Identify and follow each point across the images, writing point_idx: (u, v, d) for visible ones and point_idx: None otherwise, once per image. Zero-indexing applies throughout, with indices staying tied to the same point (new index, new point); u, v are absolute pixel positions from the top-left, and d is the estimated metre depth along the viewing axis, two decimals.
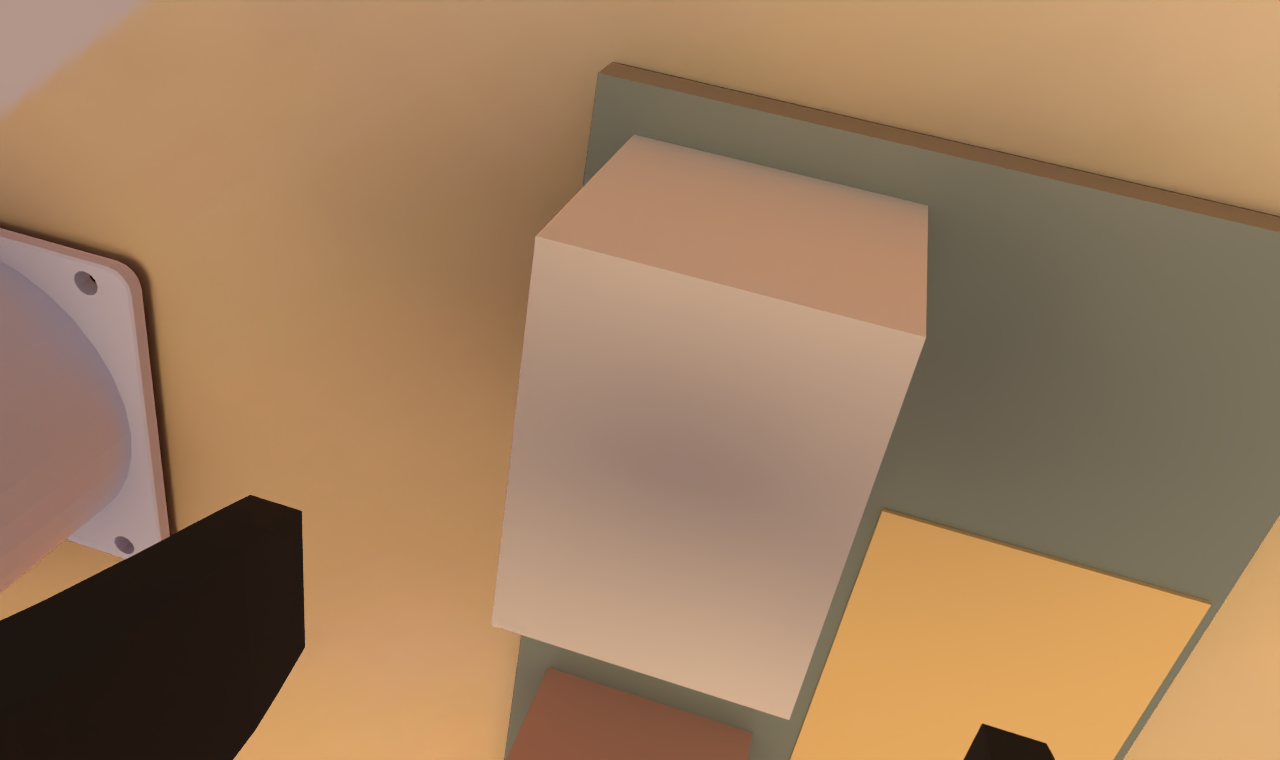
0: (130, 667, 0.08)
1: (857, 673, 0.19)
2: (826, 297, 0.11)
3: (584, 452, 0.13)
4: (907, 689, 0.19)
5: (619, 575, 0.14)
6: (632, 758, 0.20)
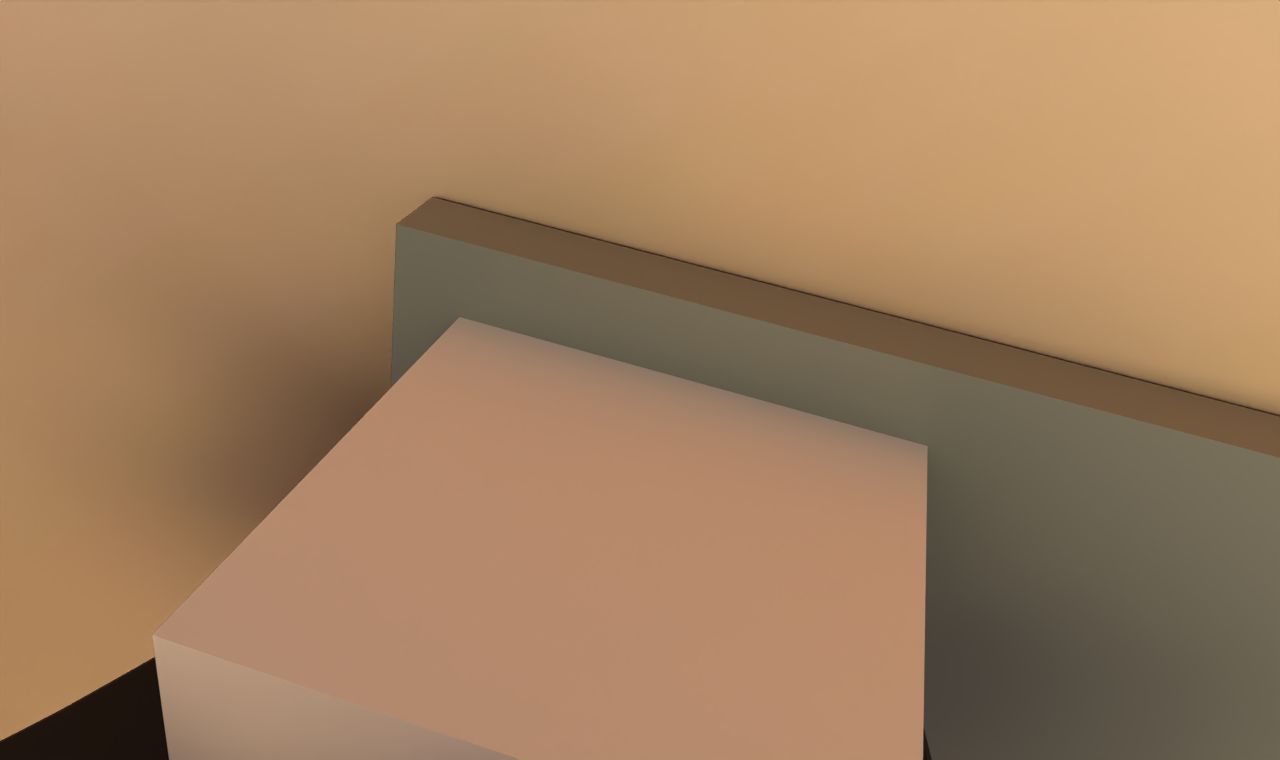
0: None
1: None
2: None
3: None
4: None
5: None
6: None
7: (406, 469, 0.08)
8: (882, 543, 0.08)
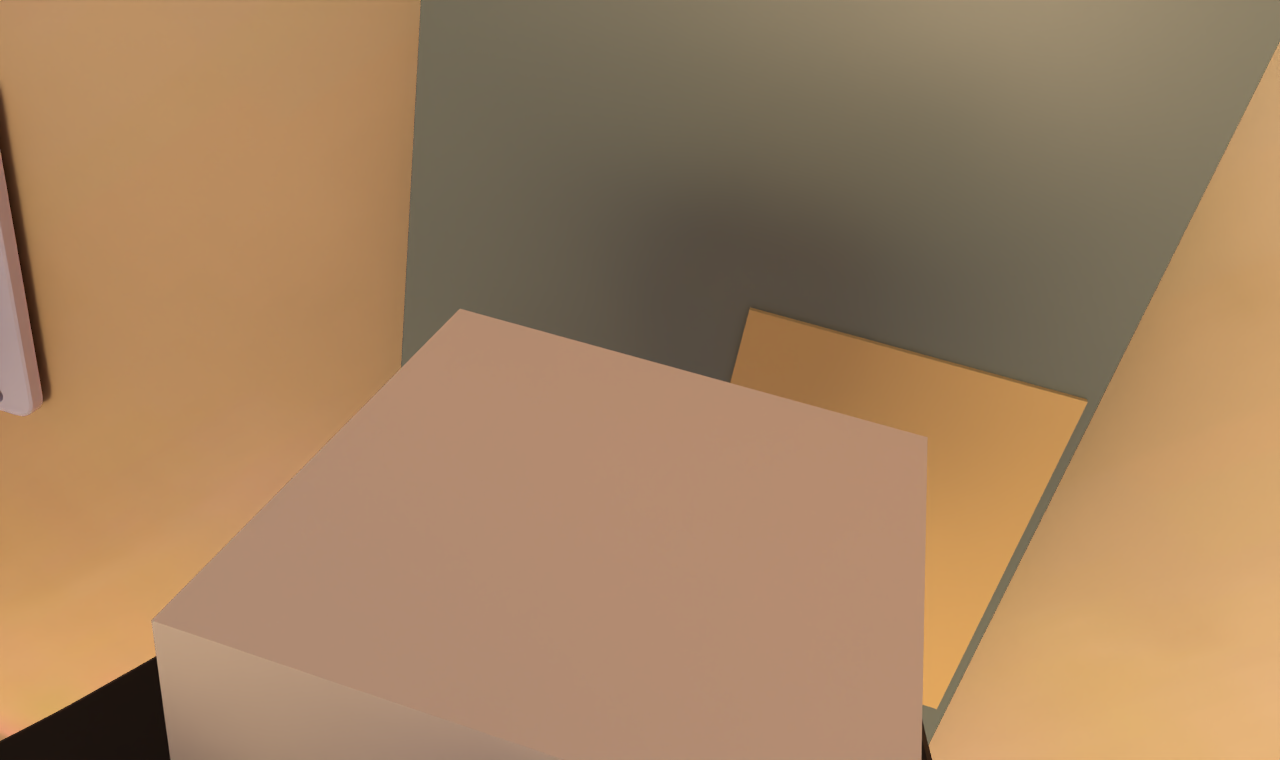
0: None
1: None
2: (721, 755, 0.06)
3: None
4: None
5: None
6: None
7: (405, 458, 0.08)
8: (882, 533, 0.08)
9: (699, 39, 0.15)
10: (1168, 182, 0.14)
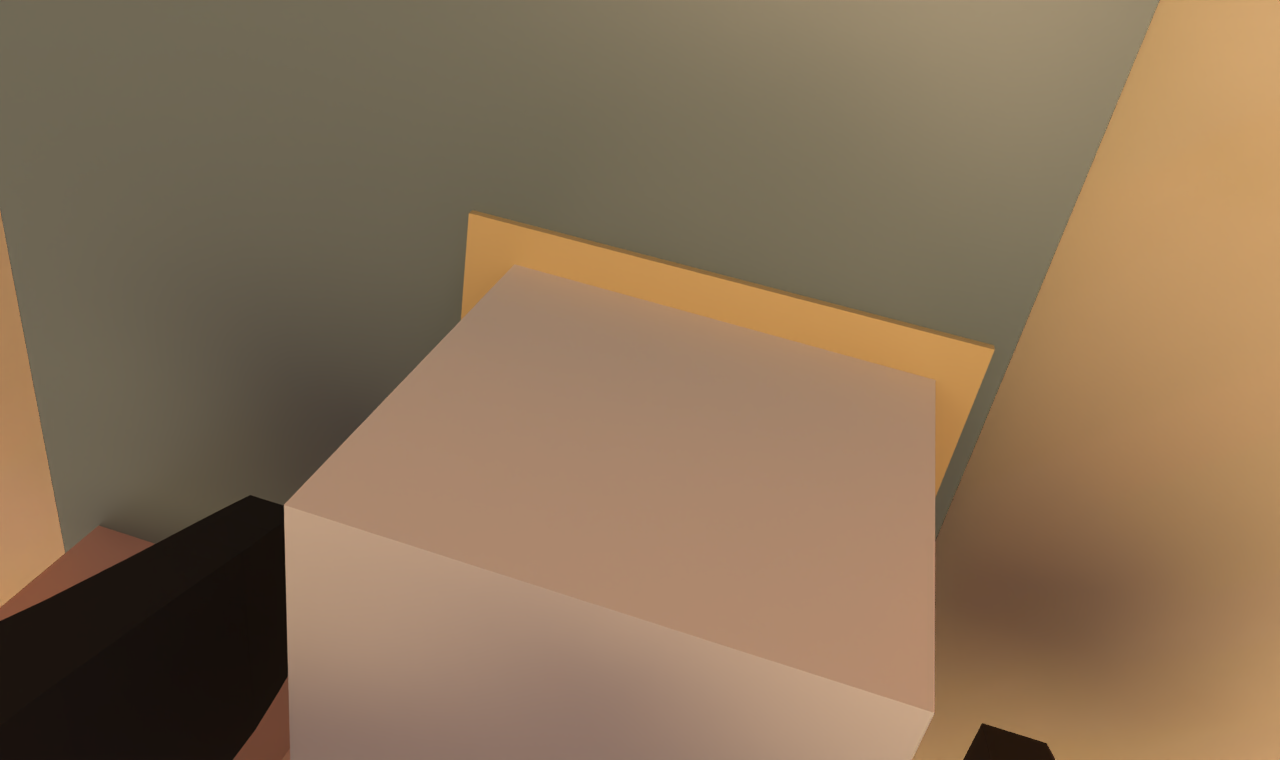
0: (130, 667, 0.08)
1: None
2: (767, 618, 0.07)
3: None
4: None
5: None
6: None
7: (481, 385, 0.09)
8: (897, 455, 0.09)
9: None
10: None
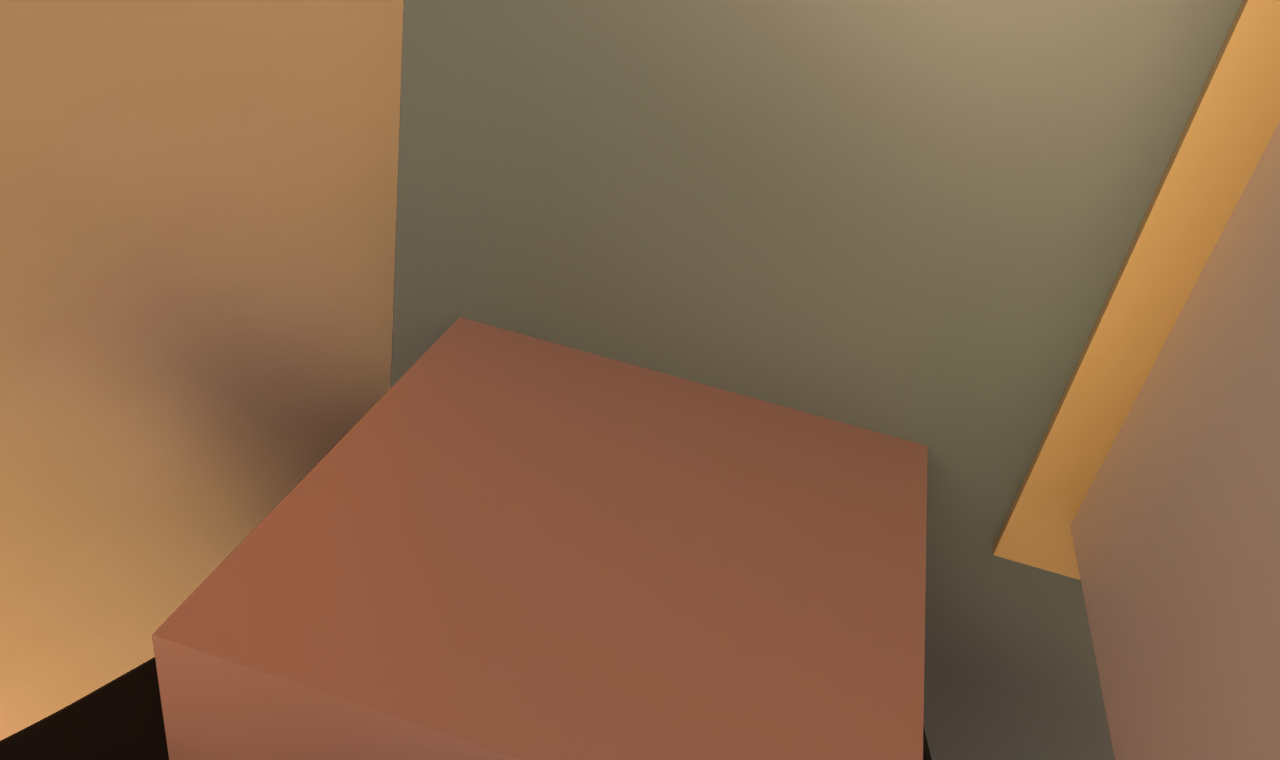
0: None
1: None
2: None
3: None
4: None
5: None
6: (651, 472, 0.08)
7: None
8: None
9: None
10: None
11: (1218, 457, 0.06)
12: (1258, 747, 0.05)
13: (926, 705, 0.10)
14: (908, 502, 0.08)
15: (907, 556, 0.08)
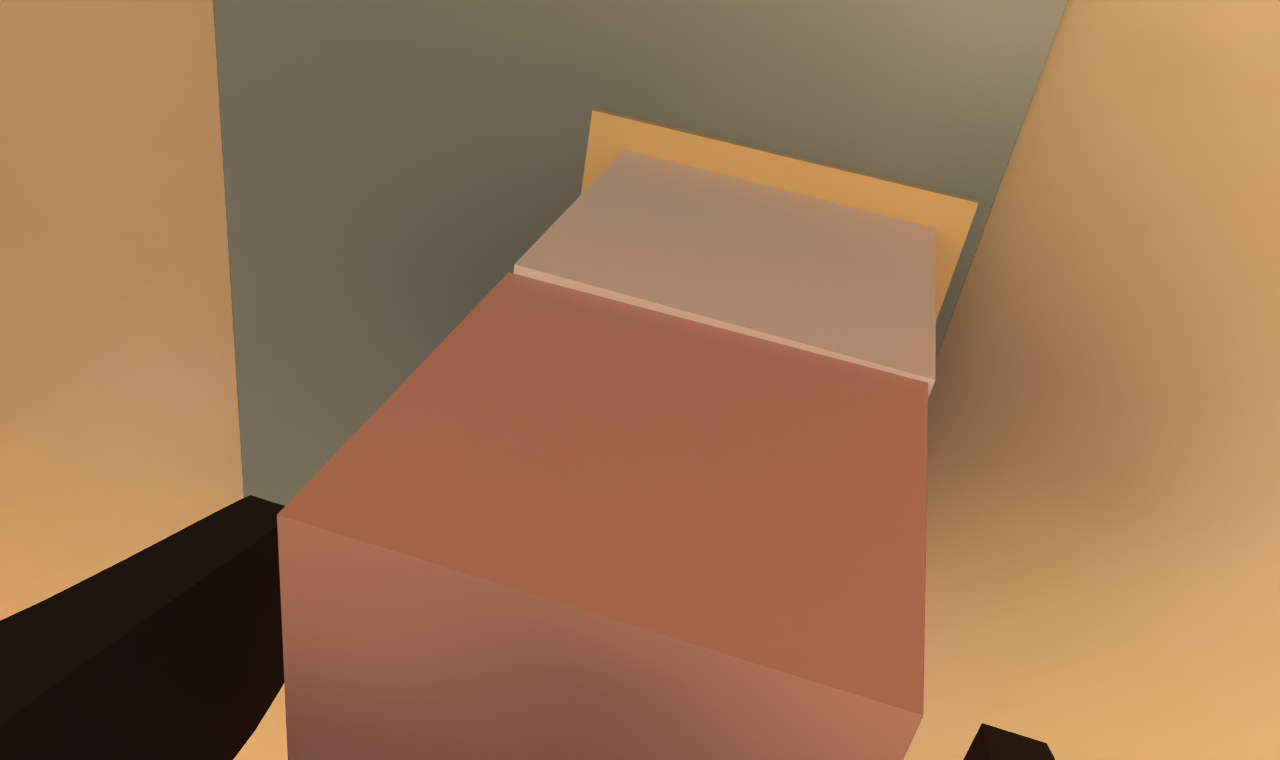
0: (130, 667, 0.08)
1: None
2: (828, 334, 0.11)
3: None
4: None
5: None
6: (685, 398, 0.09)
7: (620, 214, 0.12)
8: (909, 265, 0.13)
9: None
10: None
11: None
12: None
13: None
14: (912, 426, 0.09)
15: (912, 469, 0.09)
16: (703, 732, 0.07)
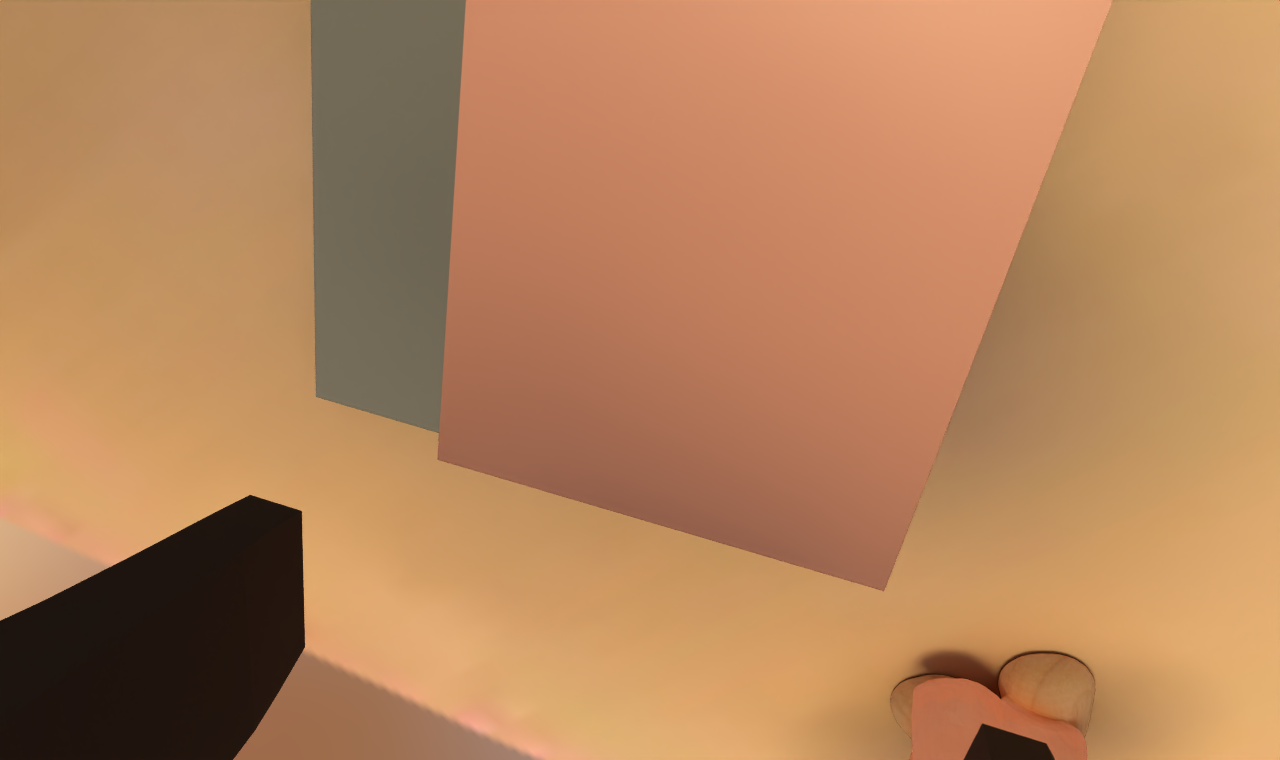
0: (130, 667, 0.08)
1: None
2: None
3: None
4: None
5: None
6: None
7: None
8: None
9: None
10: None
11: None
12: None
13: None
14: None
15: None
16: None
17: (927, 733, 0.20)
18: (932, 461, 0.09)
